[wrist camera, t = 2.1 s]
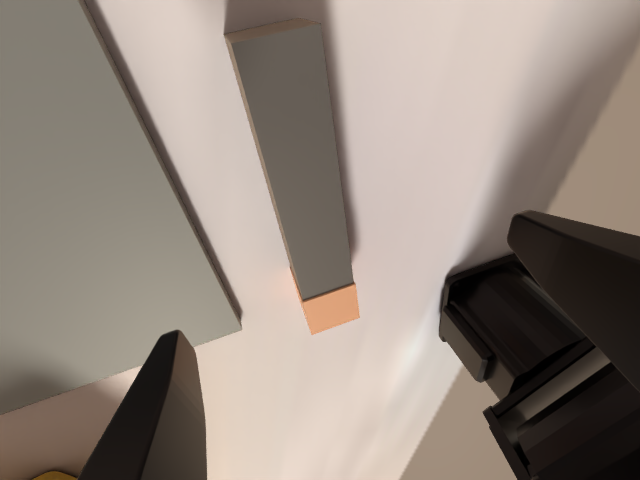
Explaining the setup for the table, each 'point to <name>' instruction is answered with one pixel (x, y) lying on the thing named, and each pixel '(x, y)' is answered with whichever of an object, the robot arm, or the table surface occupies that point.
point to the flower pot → (55, 476)
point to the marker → (299, 160)
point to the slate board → (86, 216)
